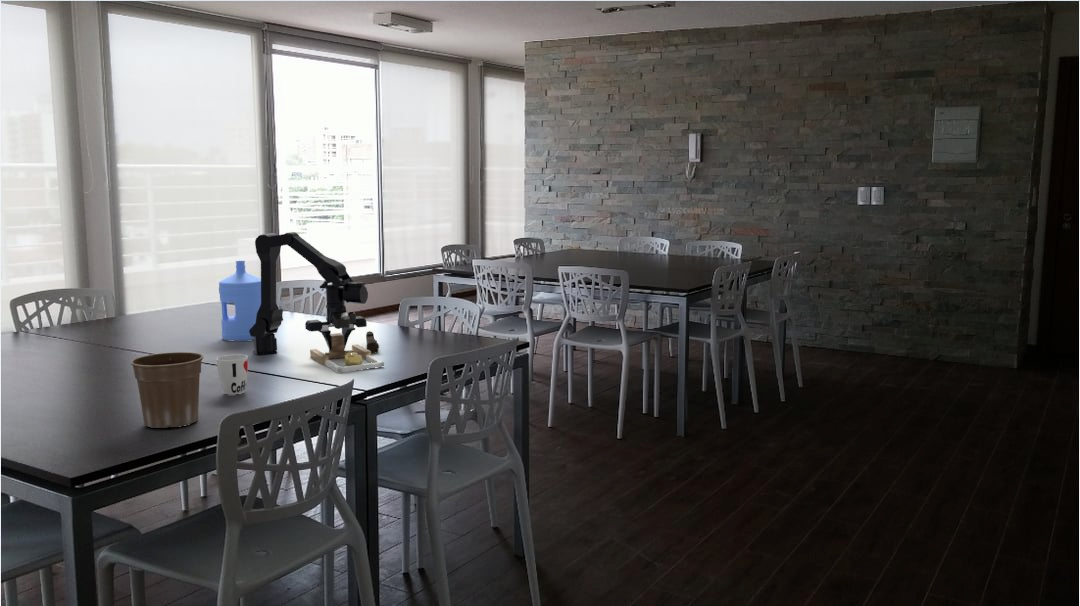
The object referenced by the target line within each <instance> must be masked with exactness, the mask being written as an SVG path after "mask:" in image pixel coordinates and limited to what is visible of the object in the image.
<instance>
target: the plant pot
mask: <svg viewBox="0 0 1080 606" xmlns="http://www.w3.org/2000/svg"><path fill="white" fill-rule="evenodd" d="M203 359H204V355H203V354H201V353H199V352H189V351H188V352H187V351H186V352H184V351H183V352H181V351H180V352H179V351H177V352H176V351H175V352H163V353H162V352H161V353H154V354H153V353H152V354H147V355H142V356H138V357H136V358H133V359H131V360H130V365H131V366H132V368H133V374H134V377H135V379H136V382H137V387H138V392H139V399H140V405H141V406H140V407H141V412H142V418H143V425H144V426H145V427H146V426H148V427H152V428H167V429H168V428H173V427H179V426H184V425H188V424H191V423H194V422H196V421H197V420H198V421H199V403H200V402H199V401H200V399H199V398H200V397H199V396H200V374H201V373H202V362H203V361H202V360H203ZM198 421H197V422H198ZM197 422H196V423H197ZM194 424H195V423H194Z"/></svg>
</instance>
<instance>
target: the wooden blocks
mask: <svg viewBox="0 0 1080 606" xmlns="http://www.w3.org/2000/svg"><path fill="white" fill-rule="evenodd" d="M351 350H353V351H354V352H355V353H358V355H361V356H362V359H363V358H364V360H366V355H371V356H372V353H371V351H370V350H368V349H366V348H365V347H363V346H361V345H360V344H351ZM309 352H310V353H309V354H310V359H313V360H314V361H316V362H317V363H319V364H320V365H323V366H324V365H326V363H325V360H329V359H328V356H327V355H325V352H322V351H320V350H318V349H317V348H313V349H309Z"/></svg>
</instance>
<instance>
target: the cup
mask: <svg viewBox="0 0 1080 606" xmlns="http://www.w3.org/2000/svg"><path fill="white" fill-rule="evenodd" d="M248 361H249V360H248V355H247V354H240V353H239V354H225V355H221V356H218V357H216V367H217V375H218V378H219V381H220V387H221V388H222V391H223V393H225V394H229V395H228V396H236V395H235V394H239V395H242V393H243V394H244V393H245V390H246V386H247V380H248V372H249V369H248V367H249V365H248ZM225 394H224V395H225ZM233 394H234V395H233Z"/></svg>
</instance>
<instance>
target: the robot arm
mask: <svg viewBox="0 0 1080 606" xmlns="http://www.w3.org/2000/svg"><path fill="white" fill-rule="evenodd" d="M254 245H255V250H256V251H255V252H256V255H257V257H258V259H259V261H260V279H261V305H260V307H259V310H258V312H257V316H256V323H255V324H254V325H253V327H252V328H251V329H250V330H249V333H250V335H251V337H254V340H253V347H254V349H253V350H252V352H253V353H254V354H255V355H257V356H262V355H272V354H277V353H278V340H277V338H276V335H275V334H276V333H278V331H279V327H280V326H281V325H282V322H283V321H284V318H283V312H284V309H283V308H279V306H278V305H277V260H278V258H279V255H280V253H281V249H282V247H283V246H288V247H290V248H291V249H292V250H293V251H295V252H296V254H298V255H300V256H301V257H302V258H304V259H305V260H307V262H308V263H310V264H312V266H314V267H315V268H316V270H317V273H318V274H319V275H320V276H321V277H322V278H323V280H324V281H323V283H322V284H321V285H319V289H323V290H324V289H325V298H326V299H325V300H326V304H325V309H326V317H325V320H326V321H320V320H319V319H310V320H306V321H305V324H304V325H305V330H307V331H308V332H319V333H321V334H322V337H323V338H324V340H325V343H326V346H327V348H328V351H329V350H330V351H331V350H332V345H331V337H330V334H332V331H331V330H330V328H333V327H334V328H335V329H337V330H339V329H341V334H343V335H344V347H345V348H346V346H347V343H348V339H349V337H350V335H351V334H352V332H353V331H355V330H356V328H366V327H367V325H368V323H367V319H366V318H365V317H363V316H361V315H356V311H349V312H348V311H347V307H346V304H358V305H359V304H360V305H364V304H366V303H367V301H368V298H369V292H368V289H367V287H366V286H365V282H363V281H362V282H354V281H353V279H352V278H351V276H350V275H349V273H348V272H347V267H346V266H345V265H344V264H343V263H341V262H340V261H338V260H336V259H333V258H330V257H328V256H326V255H324V253H321V252H320V251H319V250H318V249H317V248H315V247H314V246H313V245H311V244H310V243H309V242H307V241H306V240H305V239H304V238H302V237H301V236H300V235H299V234H298V233H297V232H294V231H291V232H285V233H283V234H279V235H278V234H277V233H273V232H272V233H262V234H260V235H258V236H257V237H256V238H255V242H254ZM345 302H346V304H345ZM355 326H356V328H355Z"/></svg>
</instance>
